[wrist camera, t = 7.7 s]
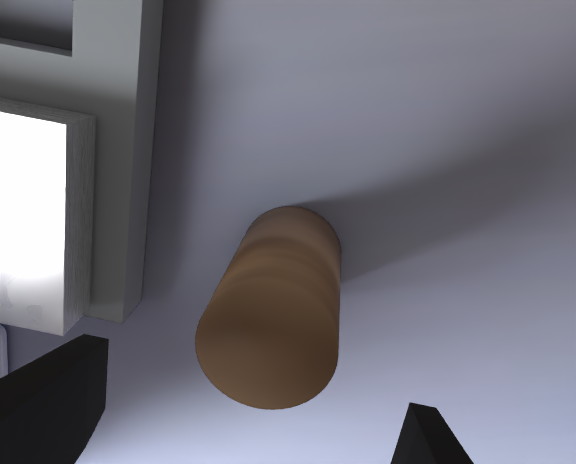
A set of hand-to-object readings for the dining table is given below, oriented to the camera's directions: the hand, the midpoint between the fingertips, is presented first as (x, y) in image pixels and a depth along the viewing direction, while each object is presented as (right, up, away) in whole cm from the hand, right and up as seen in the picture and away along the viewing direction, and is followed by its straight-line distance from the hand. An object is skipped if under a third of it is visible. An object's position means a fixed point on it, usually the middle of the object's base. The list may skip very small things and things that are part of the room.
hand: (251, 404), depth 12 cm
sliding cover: (-10, +5, +7) cm, 13 cm away
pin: (+1, +3, +9) cm, 9 cm away
